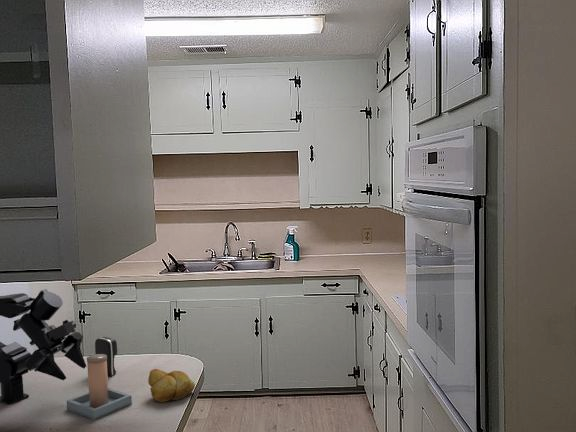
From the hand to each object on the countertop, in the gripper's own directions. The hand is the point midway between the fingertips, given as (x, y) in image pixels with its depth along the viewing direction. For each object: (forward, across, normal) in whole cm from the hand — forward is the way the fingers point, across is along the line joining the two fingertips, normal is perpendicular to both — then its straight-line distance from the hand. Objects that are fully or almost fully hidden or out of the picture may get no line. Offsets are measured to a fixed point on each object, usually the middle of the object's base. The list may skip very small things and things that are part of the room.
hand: (75, 373), depth 160 cm
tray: (+11, 0, +1) cm, 11 cm away
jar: (+11, 0, +1) cm, 11 cm away
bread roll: (+23, +11, -10) cm, 28 cm away
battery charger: (+3, +24, +10) cm, 26 cm away
